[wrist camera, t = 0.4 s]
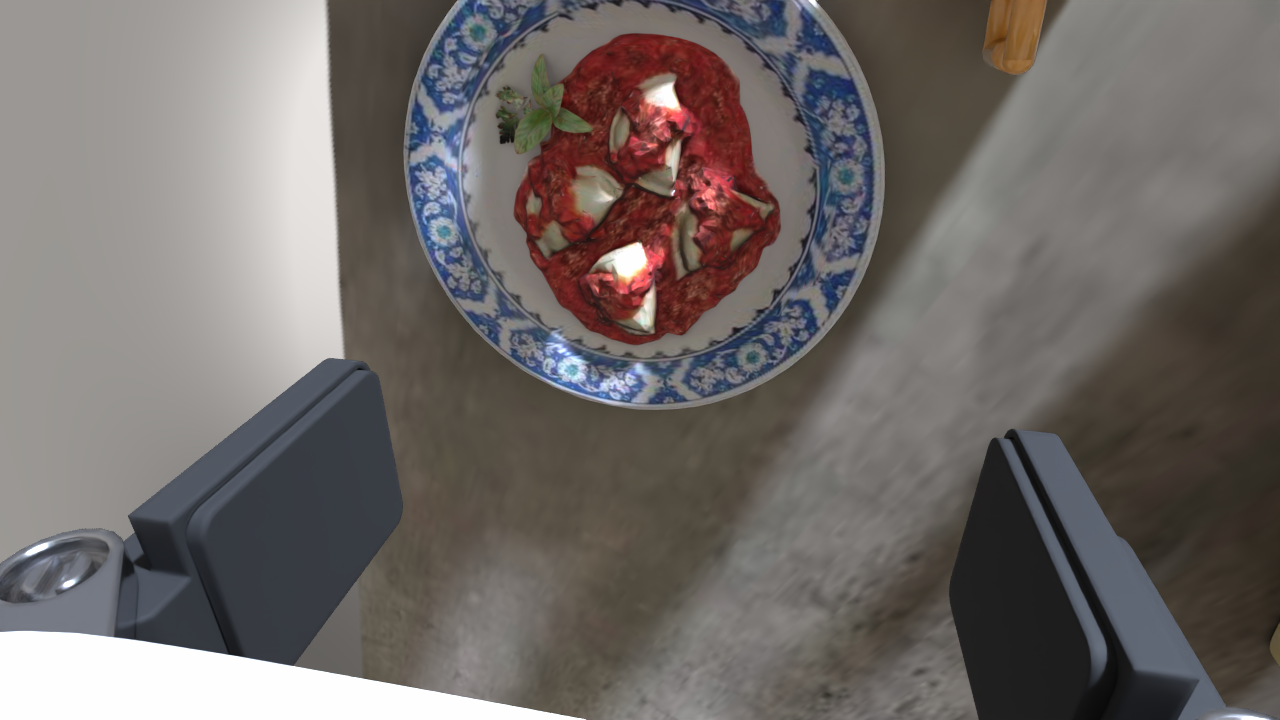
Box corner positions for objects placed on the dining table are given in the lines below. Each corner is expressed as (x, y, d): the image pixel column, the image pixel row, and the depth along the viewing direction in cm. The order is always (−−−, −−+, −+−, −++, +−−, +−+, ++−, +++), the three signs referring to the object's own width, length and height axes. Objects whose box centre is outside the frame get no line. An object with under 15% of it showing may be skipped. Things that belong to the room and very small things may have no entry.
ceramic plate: (964, 272, 38) (976, 293, 36) (589, 449, 49) (577, 476, 46) (716, -215, 31) (708, -234, 28) (334, 118, 41) (303, 126, 38)
